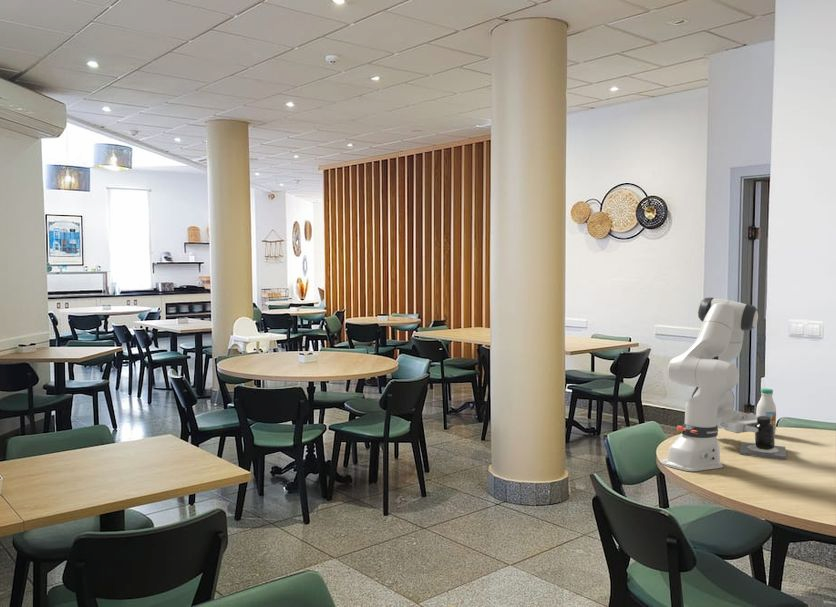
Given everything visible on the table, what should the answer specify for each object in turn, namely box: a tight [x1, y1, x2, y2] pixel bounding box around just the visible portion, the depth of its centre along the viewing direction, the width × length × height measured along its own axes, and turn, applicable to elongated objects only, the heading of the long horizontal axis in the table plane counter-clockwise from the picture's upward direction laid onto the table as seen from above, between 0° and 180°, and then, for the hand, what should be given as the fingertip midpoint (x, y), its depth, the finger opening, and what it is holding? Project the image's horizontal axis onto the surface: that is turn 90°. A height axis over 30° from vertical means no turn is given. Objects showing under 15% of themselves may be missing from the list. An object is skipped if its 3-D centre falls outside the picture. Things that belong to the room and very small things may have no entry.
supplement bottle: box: [754, 416, 776, 450], centre depth 273 cm, size 7×7×12 cm
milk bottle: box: [755, 388, 777, 437], centre depth 301 cm, size 8×8×20 cm
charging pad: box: [739, 441, 787, 460], centre depth 273 cm, size 16×16×1 cm
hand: (765, 429), depth 272 cm, fingers open, 8 cm apart
